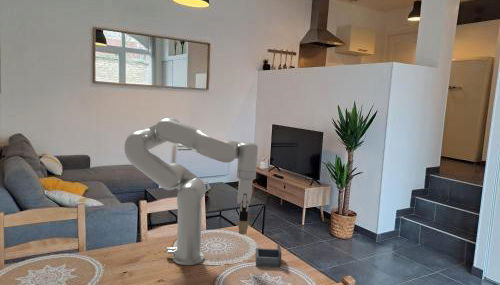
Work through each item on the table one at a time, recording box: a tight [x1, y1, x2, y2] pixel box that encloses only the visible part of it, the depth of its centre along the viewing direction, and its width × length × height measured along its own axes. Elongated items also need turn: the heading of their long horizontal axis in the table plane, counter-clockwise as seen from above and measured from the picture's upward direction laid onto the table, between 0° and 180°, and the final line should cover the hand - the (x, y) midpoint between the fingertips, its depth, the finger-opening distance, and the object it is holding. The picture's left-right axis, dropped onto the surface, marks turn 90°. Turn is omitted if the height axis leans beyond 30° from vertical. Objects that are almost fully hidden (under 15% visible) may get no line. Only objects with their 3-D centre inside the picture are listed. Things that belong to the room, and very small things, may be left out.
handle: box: [236, 195, 254, 236], centre depth 142 cm, size 5×6×15 cm
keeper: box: [254, 243, 282, 268], centre depth 146 cm, size 10×9×6 cm
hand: (243, 218), depth 142 cm, fingers closed on handle, 3 cm apart
